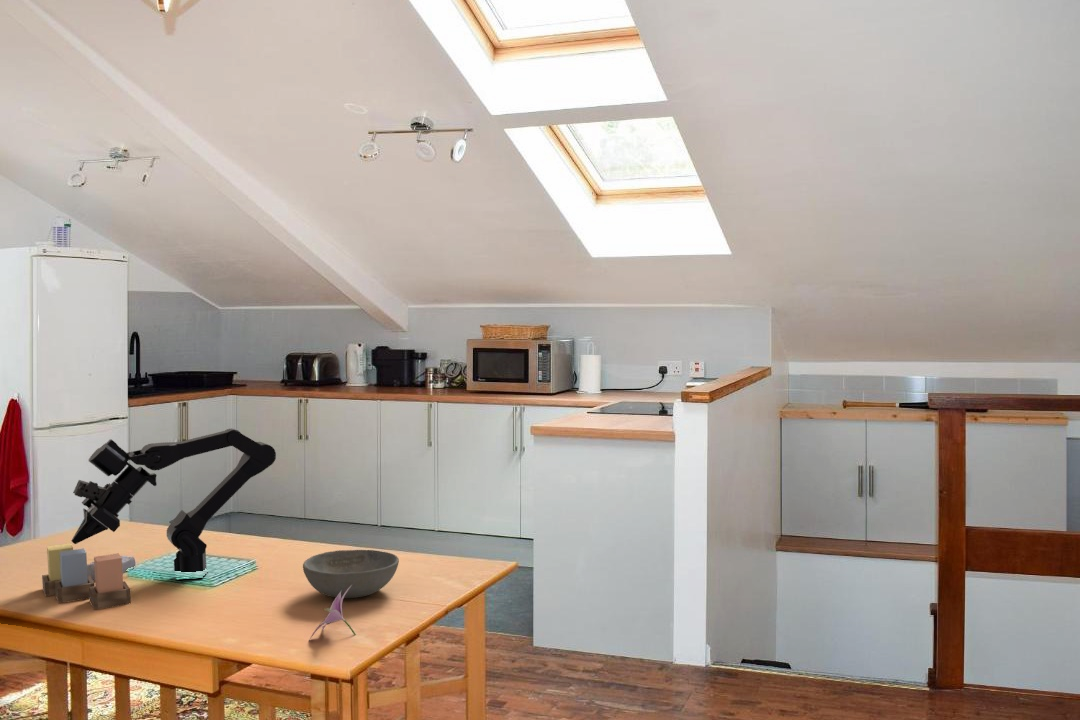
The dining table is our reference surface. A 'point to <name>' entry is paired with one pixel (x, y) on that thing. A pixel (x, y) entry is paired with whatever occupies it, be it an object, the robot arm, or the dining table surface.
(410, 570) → the dining table surface
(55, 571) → the ochre block
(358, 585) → the bowl
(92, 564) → the stone block
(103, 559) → the tan block
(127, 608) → the dining table surface
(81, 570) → the blue-grey block
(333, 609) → the lily
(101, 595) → the walnut sockets
